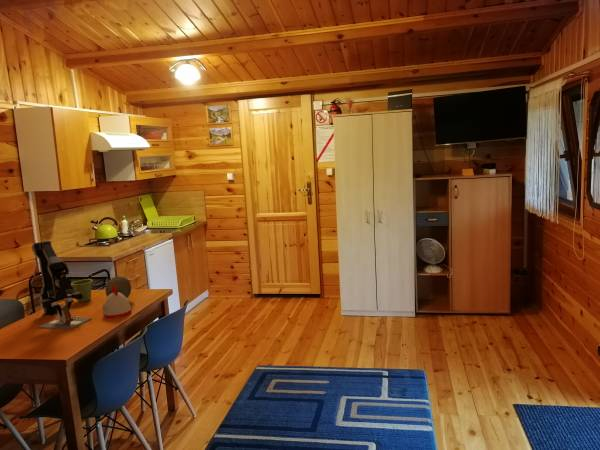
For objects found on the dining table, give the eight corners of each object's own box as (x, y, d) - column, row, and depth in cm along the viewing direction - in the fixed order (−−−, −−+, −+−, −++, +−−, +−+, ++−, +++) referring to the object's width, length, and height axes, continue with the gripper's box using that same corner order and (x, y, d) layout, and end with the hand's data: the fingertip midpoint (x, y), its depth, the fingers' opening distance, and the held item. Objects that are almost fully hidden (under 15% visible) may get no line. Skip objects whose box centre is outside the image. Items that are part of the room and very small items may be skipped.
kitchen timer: (126, 307, 256) (123, 281, 254) (135, 313, 246) (131, 285, 243) (100, 314, 248) (96, 287, 246) (108, 320, 237) (104, 291, 235)
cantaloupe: (101, 305, 264) (97, 279, 261) (122, 297, 276) (119, 273, 273) (117, 308, 256) (114, 281, 254) (138, 300, 268) (135, 275, 266)
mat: (38, 327, 233) (38, 326, 233) (59, 318, 246) (59, 316, 246) (71, 329, 227) (71, 328, 227) (91, 319, 241) (91, 318, 241)
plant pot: (95, 295, 284) (92, 277, 282) (95, 301, 273) (92, 282, 271) (73, 299, 279) (70, 281, 278) (72, 304, 268) (70, 285, 267)
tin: (72, 324, 232) (71, 308, 231) (65, 326, 230) (64, 309, 229) (63, 318, 243) (61, 302, 242) (56, 319, 241) (55, 303, 240)
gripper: (74, 279, 246) (78, 307, 248) (34, 287, 234) (39, 317, 236) (81, 282, 238) (85, 312, 240) (40, 291, 225) (45, 322, 228)
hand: (64, 315), depth 236 cm, fingers closed on tin, 2 cm apart
